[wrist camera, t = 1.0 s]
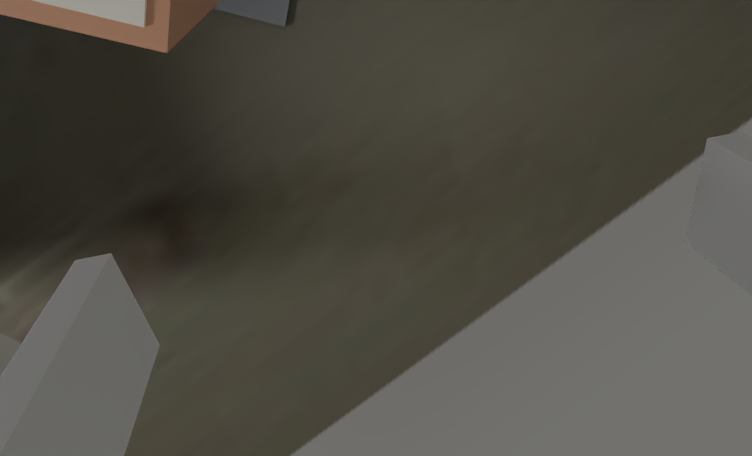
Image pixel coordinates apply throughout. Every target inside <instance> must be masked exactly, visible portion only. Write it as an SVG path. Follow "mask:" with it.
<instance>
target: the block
mask: <svg viewBox="0 0 752 456" xmlns="http://www.w3.org/2000/svg"><path fill="white" fill-rule="evenodd" d="M220 1H221V0H0V14H1V15H5V16H10V17H14V18H18V19H22V20H27V21H31V22H35V23H40V24H44V25H48V26H52V27H57V28H61V29H65V30H70V31H74V32H78V33H82V34H87V35H91V36H95V37H100V38H104V39H108V40H112V41H117V42H121V43H125V44H130V45H134V46H138V47H142V48H147V49H151V50H155V51H160V52H164V53H168V52H169V51H170V50H171V49H172V48H173V47H174V46H175V45H176V44H177V43H178V42H179V41H180V40H181V39H182V38H183V37H184V36H185V35H186V34H187V33H188V32H189V31H190V30H191V29H192V28H194V27H195V26H196V25H197V24H198V23H199V22H200V21H201V20H202V19H203V18H204V17H205V16H206V15H207V14H208V13H209V12H210V11H211V10H212V9H213V8H214V7H215V6H216V5H217V4H218V3H219V2H220Z"/></svg>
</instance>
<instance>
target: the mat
mask: <svg viewBox="0 0 752 456" xmlns="http://www.w3.org/2000/svg"><path fill="white" fill-rule="evenodd" d="M289 1H290V0H221V1H220V2H219V3H218V4H217V5H216V6H215V7H214V8H213V9H216V10H220V11H224V12H228V13H232V14H236V15H239V16H243V17H247V18H251V19H255V20H259V21H263V22H267V23H271V24H274V25H278V26H282V27H285V25H286V19H287V13H288V7H289Z"/></svg>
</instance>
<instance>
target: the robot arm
mask: <svg viewBox="0 0 752 456" xmlns="http://www.w3.org/2000/svg"><path fill="white" fill-rule="evenodd" d="M685 241H686V242H687V243H688V244H689V245H690V246H691V247H693V248H694V249H695V250H696V251H697V252H698V253H699V254H701V255H702V256H703V257H704V258H705V259H707V260H708V261H709V262H710V263H711V264H712V265H714V266H715V267H716V268H717V269H718V270H719V271H720V272H722V273H723V274H724V275H725V276H726V277H727V278H729V279H730V280H731V281H732V282H733V283H735V284H736V285H737V286H738V287H739V288H740V289H741V290H743V291H744V292H745V293H746V294H747V295H749V296H750V297H751V298H752V137H750V136H748V135H746V134H744V133H742V132H738V133H732V134H727V135H722V136H717V137H712V138H707V143H706V147H705V152H704V156H703V161H702V166H701V170H700V175H699V179H698V184H697V188H696V193H695V198H694V202H693V207H692V211H691V216H690V220H689V225H688V229H687V235H686V238H685ZM159 346H160V345H159V343H158V341H157V339H156V337H155V335H154V334H153V332H152V330H151V328H150V326H149V324H148V322H147V320H146V318H145V316H144V315H143V313H142V311H141V309H140V307H139V305H138V303H137V301H136V299H135V298H134V296H133V294H132V292H131V290H130V288H129V286H128V284H127V282H126V280H125V279H124V277H123V275H122V273H121V271H120V269H119V267H118V265H117V263H116V262H115V260H114V258H113V256H112V254H111V253H110V254H104V255H99V256H94V257H89V258H84V259H79V260H75V261H74V263H73V264H72V266H71V267H70V269H69V270H68V272H67V274H66V275H65V277H64V278H63V280H62V281H61V283H60V284H59V286H58V288H57V289H56V291H55V292H54V294H53V295H52V297H51V298H50V300H49V302H48V303H47V305H46V306H45V308H44V309H43V311H42V312H41V314H40V316H39V317H38V319H37V320H36V322H35V323H34V325H33V326H32V328H31V330H30V331H29V333H28V334H27V336H26V337H25V339H24V340H23V342H22V344H21V345H20V347H19V348H18V350H17V351H16V353H15V355H14V356H13V358H12V359H11V361H10V362H9V364H8V366H7V367H6V369H5V370H4V372H3V373H2V375H1V376H0V456H124V454H125V451H126V448H127V445H128V442H129V439H130V436H131V433H132V430H133V426H134V423H135V420H136V417H137V414H138V411H139V408H140V405H141V402H142V399H143V395H144V392H145V389H146V386H147V383H148V380H149V377H150V374H151V371H152V367H153V364H154V361H155V358H156V355H157V352H158V349H159Z"/></svg>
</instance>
